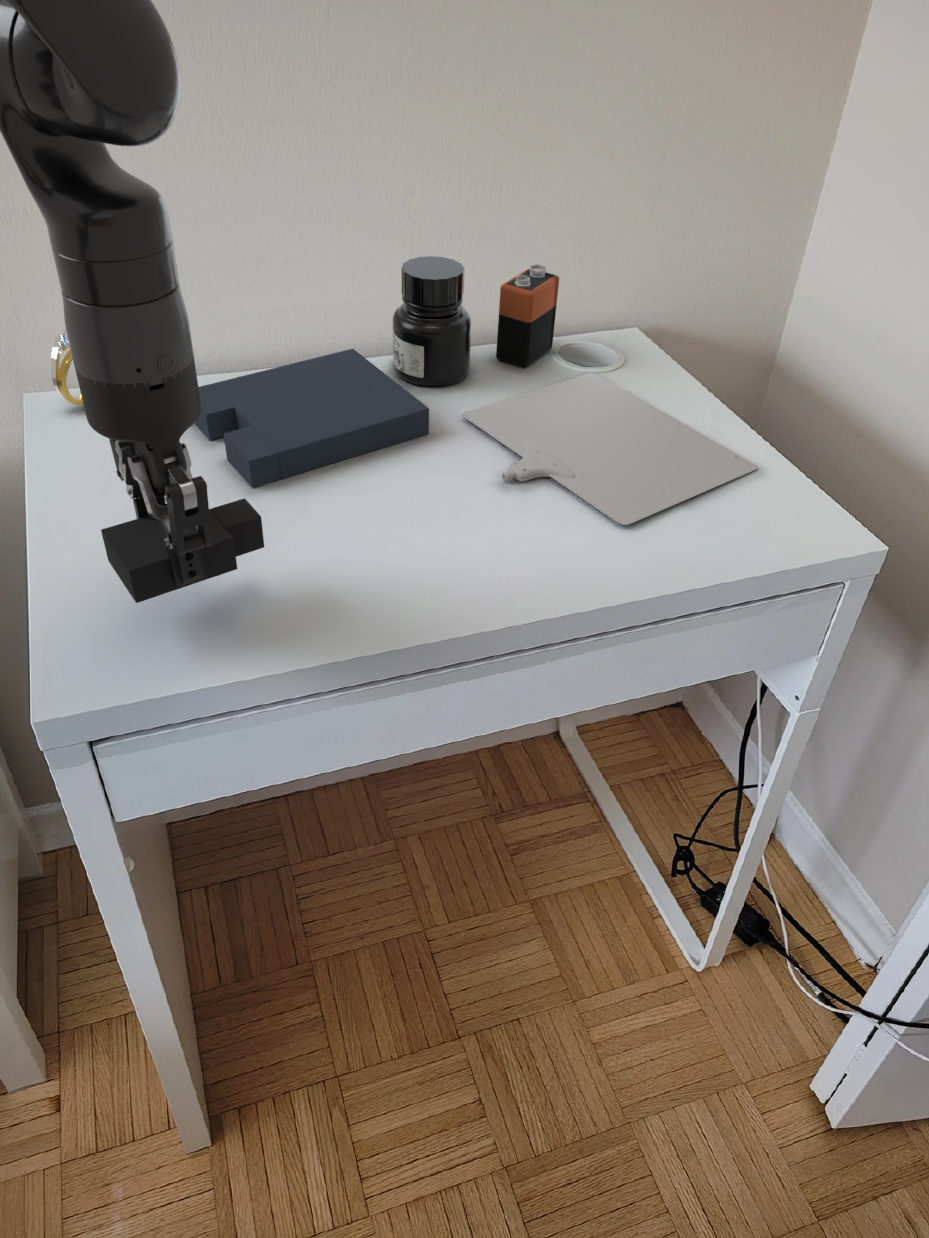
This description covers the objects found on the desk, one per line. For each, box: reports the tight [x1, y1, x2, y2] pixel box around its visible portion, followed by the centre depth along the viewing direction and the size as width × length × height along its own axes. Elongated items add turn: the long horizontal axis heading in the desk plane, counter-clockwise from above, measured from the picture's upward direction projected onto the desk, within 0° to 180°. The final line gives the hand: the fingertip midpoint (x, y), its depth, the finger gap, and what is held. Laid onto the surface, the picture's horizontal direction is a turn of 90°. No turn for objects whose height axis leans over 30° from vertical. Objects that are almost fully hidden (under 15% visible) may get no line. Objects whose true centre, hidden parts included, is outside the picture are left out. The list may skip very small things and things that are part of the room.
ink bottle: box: [392, 255, 472, 387], centre depth 106 cm, size 10×9×12 cm
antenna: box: [462, 372, 758, 526], centre depth 98 cm, size 25×24×1 cm
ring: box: [50, 329, 84, 406], centre depth 99 cm, size 7×3×8 cm, turn 156°
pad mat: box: [194, 348, 430, 489], centre depth 99 cm, size 20×16×3 cm
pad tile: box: [100, 498, 265, 604], centre depth 73 cm, size 11×6×3 cm, turn 125°
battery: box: [495, 263, 560, 368], centre depth 111 cm, size 4×7×10 cm, turn 147°
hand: (172, 558), depth 73 cm, fingers closed on pad tile, 6 cm apart
